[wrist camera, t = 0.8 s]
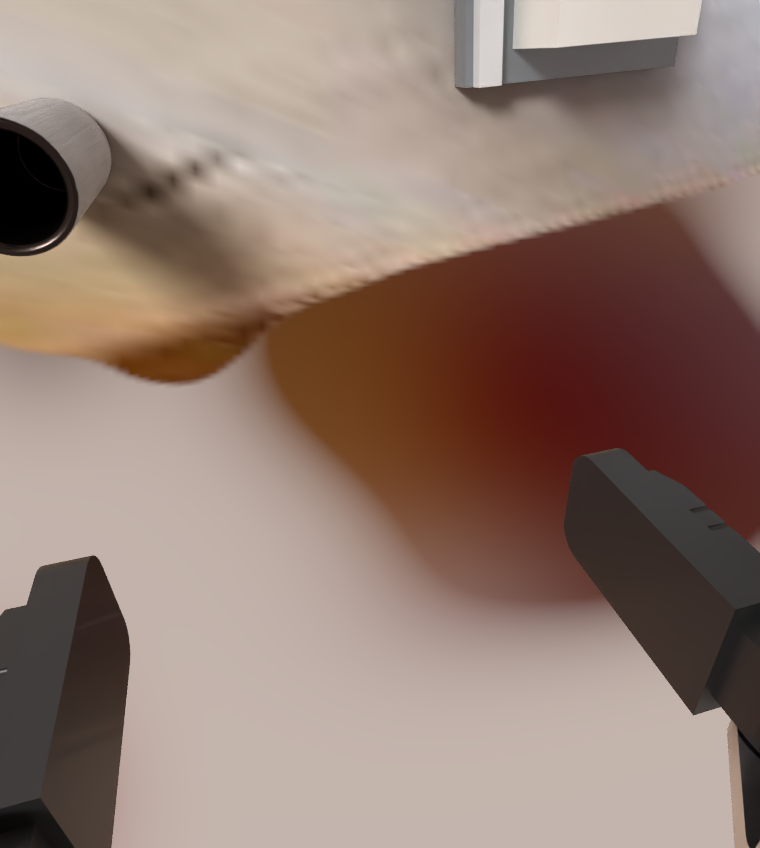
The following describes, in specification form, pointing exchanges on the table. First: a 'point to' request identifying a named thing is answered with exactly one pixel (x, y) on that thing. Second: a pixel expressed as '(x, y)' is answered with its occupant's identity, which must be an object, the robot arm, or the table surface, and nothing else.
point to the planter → (47, 173)
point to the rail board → (560, 56)
